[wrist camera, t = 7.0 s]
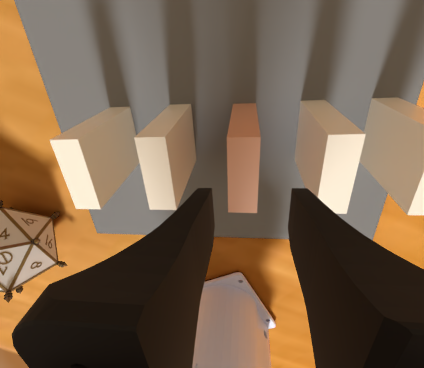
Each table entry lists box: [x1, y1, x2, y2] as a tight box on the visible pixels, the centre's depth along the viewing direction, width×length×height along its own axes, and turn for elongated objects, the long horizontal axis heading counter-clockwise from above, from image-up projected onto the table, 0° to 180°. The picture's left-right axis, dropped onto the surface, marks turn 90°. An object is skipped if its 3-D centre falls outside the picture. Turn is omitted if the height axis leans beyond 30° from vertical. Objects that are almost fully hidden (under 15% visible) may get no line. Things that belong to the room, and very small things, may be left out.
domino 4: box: [294, 100, 366, 214], centre depth 16 cm, size 2×4×7 cm, turn 4°
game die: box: [0, 200, 68, 303], centre depth 23 cm, size 9×8×10 cm
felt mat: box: [14, 0, 424, 240], centre depth 19 cm, size 26×22×1 cm
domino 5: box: [359, 97, 424, 215], centre depth 15 cm, size 2×4×7 cm, turn 3°
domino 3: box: [227, 103, 261, 213], centre depth 16 cm, size 2×4×7 cm, turn 3°
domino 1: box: [50, 107, 140, 209], centre depth 18 cm, size 2×4×7 cm, turn 4°
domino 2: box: [134, 104, 196, 210], centre depth 17 cm, size 2×4×7 cm, turn 4°
